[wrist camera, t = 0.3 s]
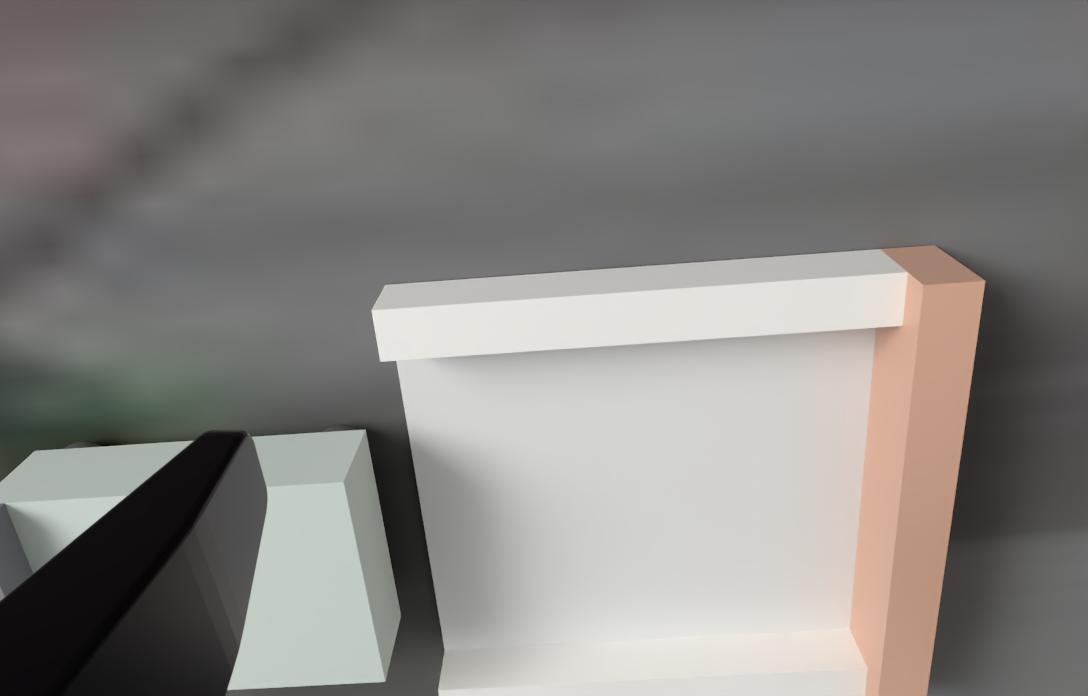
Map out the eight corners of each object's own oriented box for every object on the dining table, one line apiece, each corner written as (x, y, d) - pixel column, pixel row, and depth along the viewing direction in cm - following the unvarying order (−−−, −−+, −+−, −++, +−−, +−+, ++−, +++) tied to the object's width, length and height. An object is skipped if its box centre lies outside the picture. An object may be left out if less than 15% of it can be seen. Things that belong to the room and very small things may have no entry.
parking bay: (450, 678, 30) (440, 748, 27) (385, 285, 24) (363, 324, 21) (888, 655, 29) (922, 725, 27) (934, 245, 23) (985, 280, 21)
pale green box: (120, 607, 29) (35, 731, 24) (57, 431, 26) (-55, 532, 21) (406, 591, 28) (377, 714, 24) (373, 410, 26) (332, 508, 21)
